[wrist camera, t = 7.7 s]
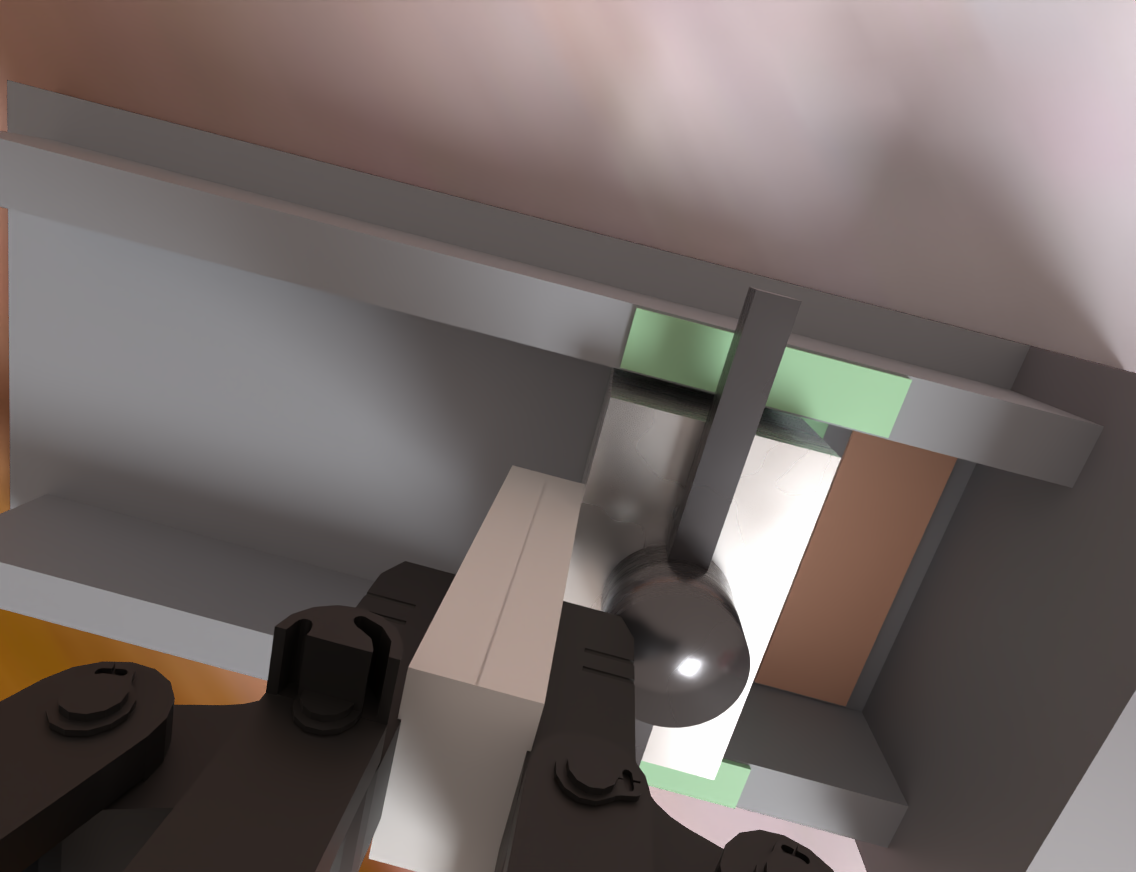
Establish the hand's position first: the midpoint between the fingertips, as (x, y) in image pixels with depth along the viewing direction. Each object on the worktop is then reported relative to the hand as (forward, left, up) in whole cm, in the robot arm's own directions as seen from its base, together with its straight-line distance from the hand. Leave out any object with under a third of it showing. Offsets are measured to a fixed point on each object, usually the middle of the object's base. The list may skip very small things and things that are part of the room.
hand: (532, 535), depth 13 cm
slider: (+3, 0, -3) cm, 4 cm away
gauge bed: (-1, 0, -4) cm, 4 cm away
